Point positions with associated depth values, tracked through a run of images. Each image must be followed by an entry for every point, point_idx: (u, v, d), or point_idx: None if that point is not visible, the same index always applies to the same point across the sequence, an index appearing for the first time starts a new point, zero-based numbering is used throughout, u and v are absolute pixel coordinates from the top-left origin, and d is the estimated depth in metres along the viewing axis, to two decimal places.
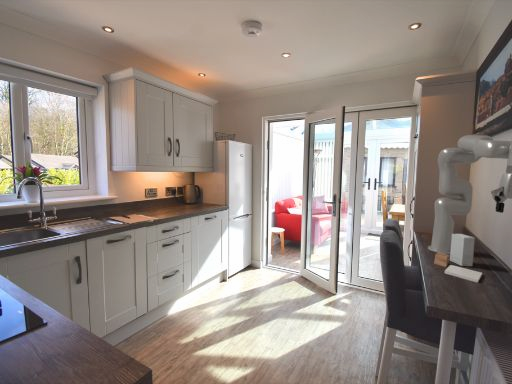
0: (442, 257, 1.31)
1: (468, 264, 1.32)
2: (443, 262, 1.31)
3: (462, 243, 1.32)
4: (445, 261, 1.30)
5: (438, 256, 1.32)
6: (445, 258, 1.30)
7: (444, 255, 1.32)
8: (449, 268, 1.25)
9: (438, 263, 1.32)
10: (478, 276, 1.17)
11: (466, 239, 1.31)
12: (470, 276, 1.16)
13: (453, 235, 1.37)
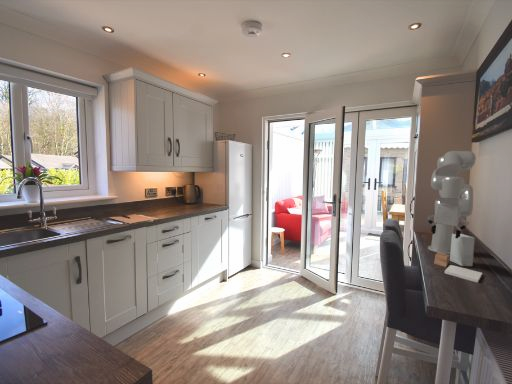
0: (442, 257, 1.31)
1: (468, 264, 1.32)
2: (443, 262, 1.31)
3: (462, 243, 1.32)
4: (445, 261, 1.30)
5: (438, 256, 1.32)
6: (445, 258, 1.30)
7: (444, 255, 1.32)
8: (449, 268, 1.25)
9: (438, 263, 1.32)
10: (478, 276, 1.17)
11: (466, 239, 1.31)
12: (470, 276, 1.16)
13: (453, 235, 1.37)
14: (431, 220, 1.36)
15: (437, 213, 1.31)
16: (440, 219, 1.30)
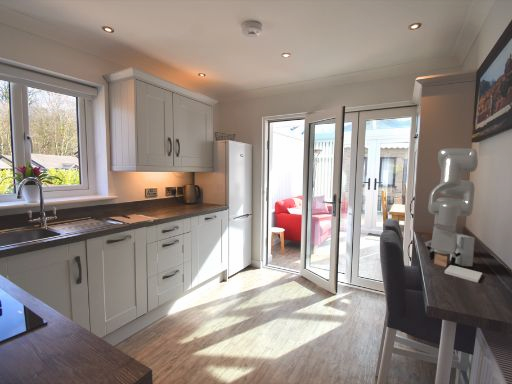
0: (442, 257, 1.31)
1: (468, 264, 1.32)
2: (443, 262, 1.31)
3: (462, 243, 1.32)
4: (445, 261, 1.30)
5: (438, 256, 1.32)
6: (445, 258, 1.30)
7: (444, 255, 1.32)
8: (449, 268, 1.25)
9: (438, 263, 1.32)
10: (478, 276, 1.17)
11: (466, 239, 1.30)
12: (470, 276, 1.16)
13: None
14: (429, 246, 1.37)
15: (434, 239, 1.33)
16: (437, 245, 1.32)
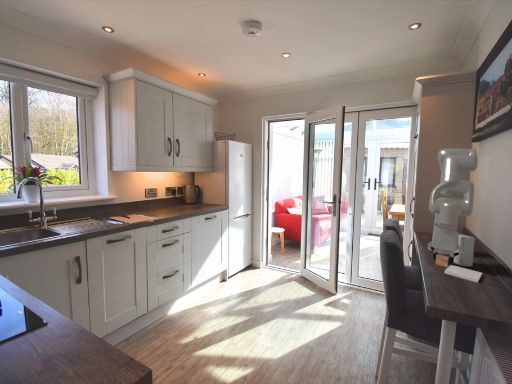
0: (443, 257, 1.31)
1: (468, 264, 1.32)
2: (444, 262, 1.30)
3: (462, 243, 1.32)
4: (446, 261, 1.30)
5: (439, 256, 1.32)
6: (447, 258, 1.30)
7: (445, 255, 1.32)
8: (449, 268, 1.25)
9: (439, 263, 1.32)
10: (478, 276, 1.17)
11: (466, 239, 1.30)
12: (470, 276, 1.16)
13: None
14: (433, 247, 1.36)
15: (435, 238, 1.32)
16: (438, 244, 1.31)
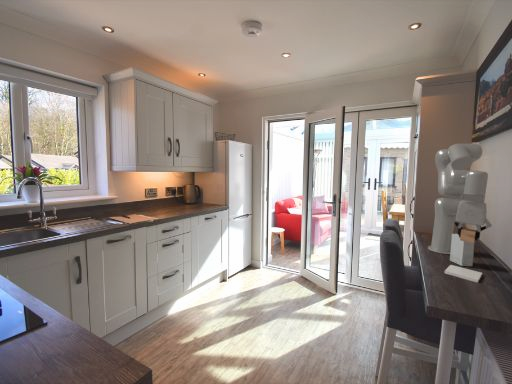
0: (469, 232, 1.17)
1: (468, 264, 1.32)
2: (471, 238, 1.17)
3: (462, 243, 1.32)
4: (473, 236, 1.16)
5: (465, 231, 1.19)
6: (473, 233, 1.16)
7: (471, 230, 1.18)
8: (449, 268, 1.25)
9: (465, 239, 1.19)
10: (478, 276, 1.17)
11: None
12: (470, 276, 1.16)
13: (453, 235, 1.37)
14: (457, 222, 1.22)
15: (460, 211, 1.19)
16: (463, 218, 1.18)
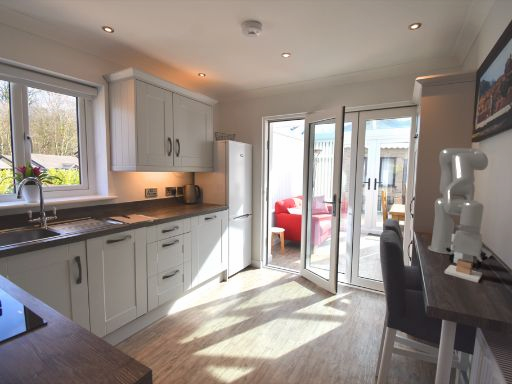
0: (465, 264, 1.19)
1: None
2: (466, 269, 1.19)
3: None
4: (469, 268, 1.18)
5: (460, 263, 1.20)
6: (469, 265, 1.18)
7: (467, 261, 1.20)
8: (449, 268, 1.25)
9: (460, 270, 1.20)
10: (478, 276, 1.17)
11: None
12: (470, 276, 1.16)
13: (453, 235, 1.37)
14: (449, 248, 1.25)
15: (456, 241, 1.21)
16: (459, 248, 1.20)
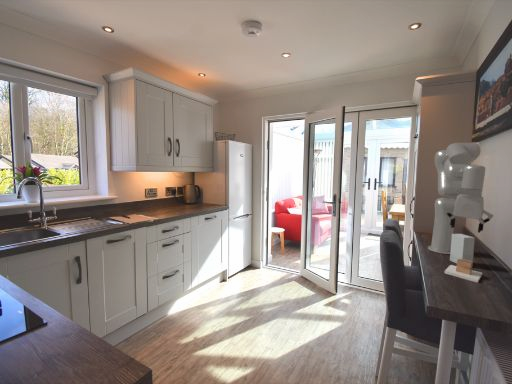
0: (465, 264, 1.19)
1: None
2: (466, 269, 1.19)
3: (462, 243, 1.32)
4: (469, 268, 1.18)
5: (460, 263, 1.20)
6: (469, 265, 1.18)
7: (467, 261, 1.20)
8: (449, 268, 1.25)
9: (460, 270, 1.20)
10: (478, 276, 1.17)
11: (466, 239, 1.31)
12: (470, 276, 1.16)
13: (453, 235, 1.37)
14: (450, 213, 1.25)
15: (457, 205, 1.20)
16: (461, 212, 1.20)
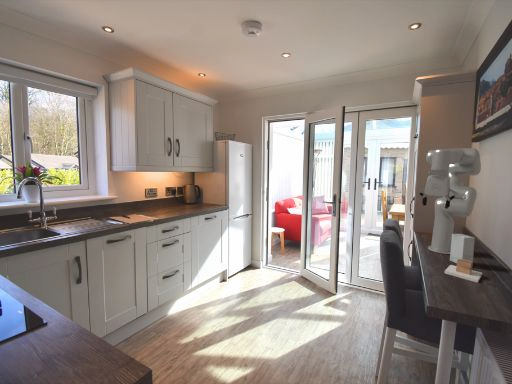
0: (465, 264, 1.19)
1: None
2: (466, 269, 1.19)
3: (462, 243, 1.32)
4: (469, 268, 1.18)
5: (460, 263, 1.20)
6: (469, 265, 1.18)
7: (467, 261, 1.20)
8: (449, 268, 1.25)
9: (460, 270, 1.20)
10: (478, 276, 1.17)
11: (466, 239, 1.30)
12: (470, 276, 1.16)
13: (453, 235, 1.37)
14: (422, 193, 1.40)
15: (428, 185, 1.36)
16: (430, 191, 1.35)
